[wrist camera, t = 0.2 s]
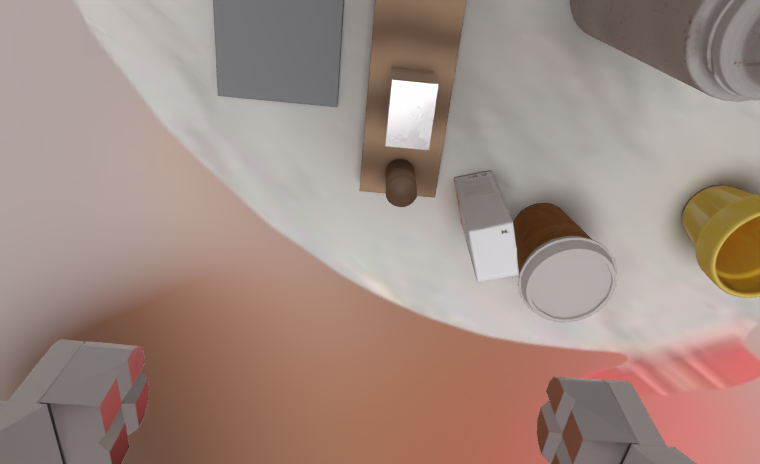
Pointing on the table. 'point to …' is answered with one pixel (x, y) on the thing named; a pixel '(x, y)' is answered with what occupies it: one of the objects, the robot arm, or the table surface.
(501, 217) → the skincare box
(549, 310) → the disposable coffee cup
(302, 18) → the slate pad
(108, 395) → the robot arm
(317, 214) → the table surface
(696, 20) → the thermos bottle
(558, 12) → the table surface
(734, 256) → the plant pot
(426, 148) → the white rectangular box
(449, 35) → the walnut plane
